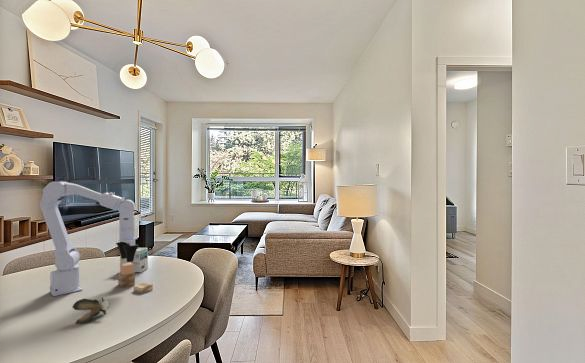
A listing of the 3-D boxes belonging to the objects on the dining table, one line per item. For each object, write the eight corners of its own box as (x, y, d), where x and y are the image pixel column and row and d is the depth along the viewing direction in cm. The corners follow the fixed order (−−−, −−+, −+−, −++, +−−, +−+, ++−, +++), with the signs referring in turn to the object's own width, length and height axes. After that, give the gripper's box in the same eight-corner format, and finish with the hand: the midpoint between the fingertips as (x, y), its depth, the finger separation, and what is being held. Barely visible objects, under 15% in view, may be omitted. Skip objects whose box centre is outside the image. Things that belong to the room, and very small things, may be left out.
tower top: (121, 282, 128) (121, 276, 128) (118, 279, 132) (118, 273, 132) (134, 279, 131) (134, 273, 131) (131, 276, 135) (131, 271, 135)
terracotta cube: (123, 275, 129) (123, 266, 129) (120, 273, 132) (120, 264, 132) (133, 273, 132) (133, 264, 132) (130, 271, 135) (130, 262, 134)
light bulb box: (148, 268, 154) (148, 247, 154) (140, 273, 148) (140, 250, 147) (128, 268, 155) (128, 246, 155) (119, 272, 149) (119, 249, 149)
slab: (141, 294, 122) (141, 288, 121) (133, 292, 124) (133, 285, 124) (152, 290, 126) (152, 284, 126) (145, 288, 128) (145, 282, 128)
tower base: (121, 288, 128) (121, 282, 128) (118, 285, 132) (118, 279, 131) (134, 285, 131) (134, 279, 131) (131, 282, 135) (131, 276, 135)
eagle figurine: (97, 306, 107) (68, 310, 99) (106, 290, 106) (78, 294, 98) (105, 323, 103) (75, 329, 96) (115, 307, 102) (85, 312, 94)
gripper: (143, 229, 129) (143, 261, 129) (131, 225, 140) (131, 255, 140) (124, 231, 124) (124, 264, 124) (114, 227, 135) (114, 258, 135)
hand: (127, 260), depth 132 cm, fingers open, 7 cm apart
